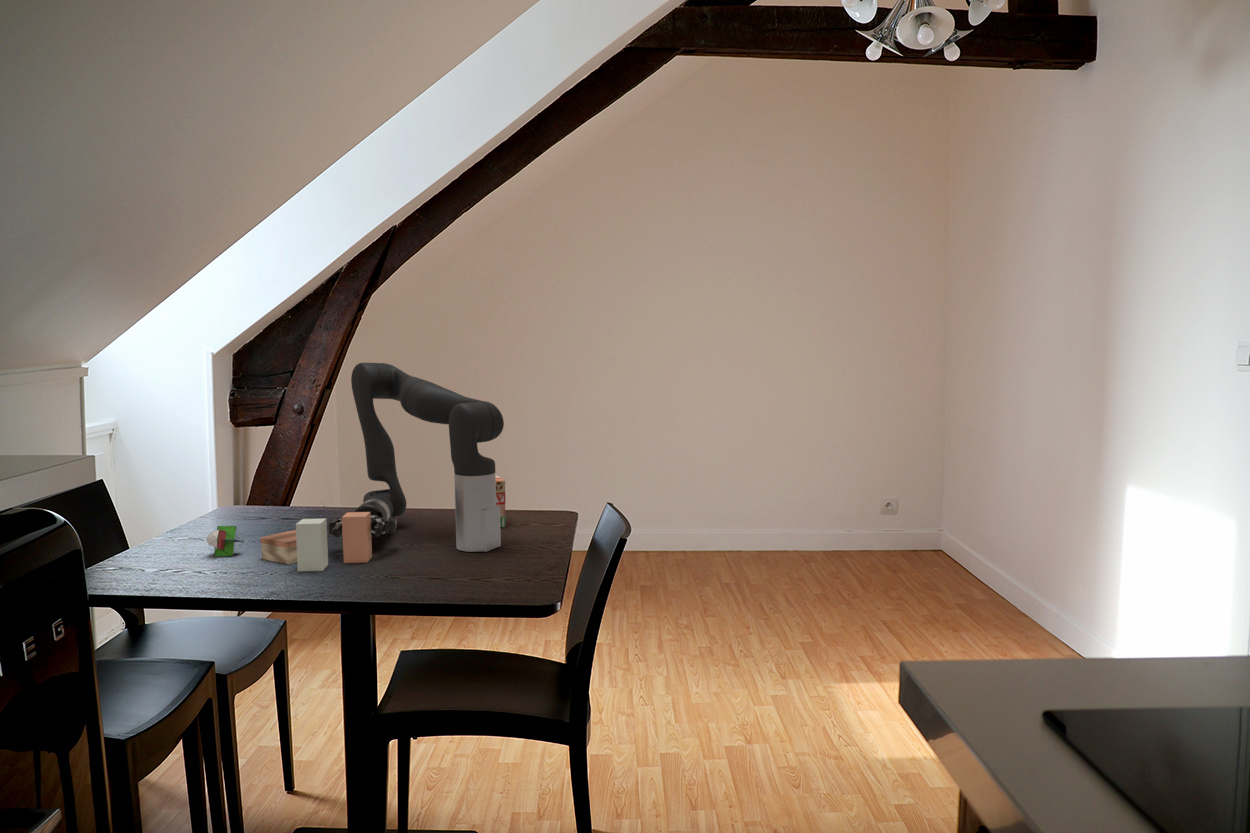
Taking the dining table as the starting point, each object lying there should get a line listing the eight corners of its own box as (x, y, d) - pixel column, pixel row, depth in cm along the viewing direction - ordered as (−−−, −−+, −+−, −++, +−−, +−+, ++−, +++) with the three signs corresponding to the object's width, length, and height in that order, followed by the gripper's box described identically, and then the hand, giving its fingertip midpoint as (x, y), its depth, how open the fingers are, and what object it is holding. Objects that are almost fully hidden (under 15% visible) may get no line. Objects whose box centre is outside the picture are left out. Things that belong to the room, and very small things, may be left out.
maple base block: (323, 556, 203) (322, 534, 203) (288, 565, 195) (287, 542, 195) (296, 551, 208) (295, 529, 208) (261, 560, 200) (260, 537, 200)
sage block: (328, 564, 195) (326, 518, 194) (322, 570, 190) (320, 523, 189) (304, 565, 195) (302, 519, 194) (297, 571, 190) (295, 524, 189)
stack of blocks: (462, 514, 247) (460, 469, 246) (484, 512, 250) (483, 467, 248) (482, 530, 228) (480, 481, 226) (506, 527, 230) (505, 479, 229)
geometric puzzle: (221, 539, 209) (209, 516, 204) (250, 539, 209) (239, 516, 204) (210, 564, 204) (198, 542, 199) (240, 564, 204) (229, 541, 198)
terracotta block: (372, 556, 202) (370, 511, 201) (367, 562, 197) (365, 516, 196) (348, 557, 201) (347, 512, 200) (343, 562, 196) (341, 517, 195)
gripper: (339, 502, 213) (322, 516, 197) (401, 500, 214) (389, 514, 198) (341, 533, 214) (323, 550, 198) (402, 532, 215) (390, 548, 199)
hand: (356, 532), depth 198 cm, fingers open, 8 cm apart
